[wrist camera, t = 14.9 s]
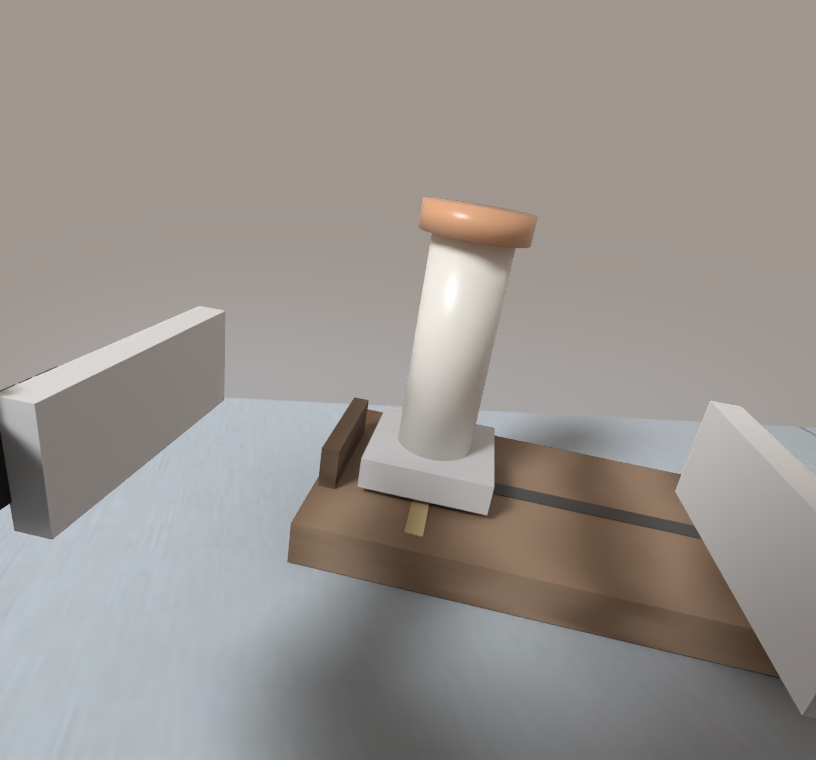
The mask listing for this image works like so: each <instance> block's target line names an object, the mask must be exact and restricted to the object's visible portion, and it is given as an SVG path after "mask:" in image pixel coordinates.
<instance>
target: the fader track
mask: <svg viewBox="0 0 816 760" xmlns="http://www.w3.org/2000/svg"><path fill="white" fill-rule="evenodd" d="M367 408H368V400H364V399H359V398H354V399H353V401H352V402H351V404H350V405H349V407H348V408H347V410H346V412H345V413H344V415H343V416H342V418H341V419H340V421H339V422H338V424H337V426H336V427H335V429H334V430H333V432H332V433H331V435H330V436H329V438H328V440H327V441H326V443H325V444H324V446H323V447H322V453H321V463H320V472H319V477H318V479H317V480H316V482H315V484H314V485H313V487H312V489H311V490H310V492H309V494H308V495H307V497H306V499H305V500H304V502H303V504H302V506H301V507H300V509H299V511H298V512H297V514H296V516H295V517H294V519H293V521H292V522H291V529H290V541H289V552H288V562H291V563H295V564H299V565H304V566H308V567H312V568H316V569H321V570H325V571H329V572H333V573H338V574H342V575H346V576H350V577H355V578H359V579H363V580H367V581H372V582H376V583H380V584H384V585H389V586H393V587H397V588H401V589H406V590H410V591H414V592H418V593H423V594H427V595H431V596H435V597H439V598H444V599H448V600H452V601H456V602H461V603H465V604H469V605H473V606H478V607H482V608H486V609H490V610H495V611H499V612H503V613H507V614H512V615H516V616H520V617H524V618H529V619H533V620H537V621H541V622H546V623H550V624H554V625H558V626H563V627H567V628H571V629H575V630H580V631H584V632H588V633H592V634H596V635H601V636H605V637H609V638H613V639H618V640H622V641H626V642H630V643H635V644H639V645H643V646H647V647H652V648H656V649H660V650H664V651H669V652H673V653H677V654H681V655H686V656H690V657H694V658H698V659H703V660H707V661H711V662H715V663H720V664H724V665H728V666H732V667H737V668H741V669H745V670H749V671H754V672H758V673H762V674H766V675H770V676H775V677H779V678H780V676H779V674H778V673H777V671H776V669H775V667H774V665H773V664H772V662H771V660H770V658H769V657H768V655H767V653H766V651H765V650H764V648H763V646H762V644H761V643H760V641H759V639H758V637H757V635H756V634H755V632H754V630H753V628H752V627H751V625H750V623H749V621H748V620H747V618H746V616H745V614H744V612H743V611H742V609H741V607H740V605H739V604H738V602H737V600H736V598H735V597H734V595H733V593H732V591H731V589H730V588H729V586H728V584H727V582H726V581H725V579H724V577H723V575H722V574H721V572H720V570H719V568H718V567H717V565H716V563H715V561H714V559H713V558H712V556H711V554H710V552H709V551H708V549H707V547H706V545H705V544H704V542H703V540H702V538H701V536H700V535H699V533H698V531H697V529H696V528H695V526H694V524H693V522H692V521H691V519H690V517H689V515H688V513H687V512H686V510H685V508H684V506H683V505H682V503H681V501H680V499H679V498H678V496H677V494H676V492H675V490H676V487H677V485H678V482H679V480H680V477H681V474H676V473H671V472H667V471H662V470H657V469H652V468H647V467H642V466H638V465H633V464H628V463H623V462H618V461H614V460H609V459H604V458H599V457H594V456H589V455H585V454H580V453H575V452H570V451H565V450H561V449H556V448H551V447H546V446H541V445H536V444H532V443H527V442H522V441H517V440H512V439H508V438H503V437H498V436H494V490H493V494H492V498H491V502H490V506H489V510H488V514H487V515H483V514H479V513H474V512H470V511H465V510H461V509H456V508H451V507H447V506H442V505H438V504H433V503H429V502H424V501H420V500H415V499H411V498H406V497H402V496H397V495H393V494H388V493H384V492H379V491H374V490H370V489H365V488H361V487H357V486H358V479H359V472H360V464H361V458H362V456H363V454H364V452H365V450H366V448H367V446H368V443H369V441H370V439H371V437H372V435H373V433H374V431H375V429H376V427H377V425H378V423H379V420H380V418H381V416H382V414H383V413H382V412H378V411H373V410H368V409H367Z"/></svg>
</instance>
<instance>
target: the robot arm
mask: <svg viewBox="0 0 816 760" xmlns="http://www.w3.org/2000/svg"><path fill="white" fill-rule="evenodd" d="M224 366H225V311H223V310H218V309H213V308H207V307H202V306H198V307H196V308H194V309H191V310H189V311H187V312H184V313H182V314H180V315H177V316H175V317H173V318H171V319H168V320H166V321H163V322H161V323H159V324H157V325H154V326H152V327H150V328H147V329H145V330H143V331H140V332H138V333H136V334H133V335H131V336H129V337H126V338H124V339H122V340H119V341H117V342H115V343H112V344H110V345H108V346H105V347H103V348H101V349H98V350H96V351H94V352H91V353H89V354H87V355H84V356H82V357H80V358H77V359H75V360H73V361H71V362H68V363H66V364H63V365H61V366H58V367H54V368H52V369H50V370H47V371H45V372H43V373H41V374H38V375H36V376H35V377H33V378H32V377H31V378H29V379H26V380H24V381H22V382H19V384H17V385H12V386H10V387H8V388H6V389H3V390H1V391H0V510H1V509H2V508H4V507H5V506H7V505H8V504H10V507H11V513H12V519H13V525H14V531H18V532H22V533H27V534H31V535H35V536H39V537H44V538H48V539H54V538H55V537H56V536H57V535H59V534H60V533H61V532H62V531H64V530H65V529H66V528H67V527H68V526H70V525H71V524H72V523H73V522H75V521H76V520H77V519H78V518H80V517H81V516H82V515H83V514H84V513H86V512H87V511H88V510H89V509H91V508H92V507H93V506H94V505H96V504H97V503H98V502H99V501H100V500H102V499H103V498H104V497H105V496H107V495H108V494H109V493H110V492H112V491H113V490H114V489H115V488H116V487H118V486H119V485H120V484H121V483H123V482H124V481H125V480H126V479H128V478H129V477H130V476H131V475H132V474H134V473H135V472H136V471H137V470H139V469H140V468H141V467H142V466H144V465H145V464H146V463H147V462H148V461H150V460H151V459H152V458H153V457H155V456H156V455H157V454H158V453H160V452H161V451H162V450H163V449H165V448H166V447H167V446H168V445H169V444H171V443H172V442H173V441H174V440H176V439H177V438H178V437H179V436H181V435H182V434H183V433H184V432H185V431H187V430H188V429H189V428H190V427H192V426H193V425H194V424H195V423H197V422H198V421H199V420H200V419H201V418H203V417H204V416H205V415H206V414H208V413H209V412H210V411H211V410H213V409H214V408H215V407H216V406H217V405H219V404H220V403H221V402H222V401H224V368H225V367H224ZM675 492H676V494H677V496H678V498H679V499H680V501H681V503H682V505H683V506H684V508H685V510H686V512H687V513H688V515H689V517H690V519H691V521H692V522H693V524H694V526H695V528H696V529H697V531H698V533H699V535H700V536H701V538H702V540H703V542H704V544H705V545H706V547H707V549H708V551H709V552H710V554H711V556H712V558H713V559H714V561H715V563H716V565H717V567H718V568H719V570H720V572H721V574H722V575H723V577H724V579H725V581H726V582H727V584H728V586H729V588H730V589H731V591H732V593H733V595H734V597H735V598H736V600H737V602H738V604H739V605H740V607H741V609H742V611H743V612H744V614H745V616H746V618H747V620H748V621H749V623H750V625H751V627H752V628H753V630H754V632H755V634H756V635H757V637H758V639H759V641H760V643H761V644H762V646H763V648H764V650H765V651H766V653H767V655H768V657H769V658H770V660H771V662H772V664H773V665H774V667H775V669H776V671H777V673H778V674H779V676H780V678H781V680H782V681H783V683H784V685H785V687H786V688H787V690H788V692H789V694H790V696H791V697H792V699H793V701H794V703H795V704H796V706H797V708H798V710H799V711H800V713H801V715H802V716H804V717H808V718H813V719H816V476H815V475H813V474H812V473H811V472H810V471H809V470H808V469H807V468H806V467H805V466H804V465H803V464H802V463H801V462H800V461H799V460H797V459H796V458H795V457H794V456H793V455H792V454H791V453H790V452H789V451H788V450H787V449H786V448H785V447H784V446H783V445H782V444H780V443H779V442H778V441H777V440H776V439H775V438H774V437H773V436H772V435H771V434H770V433H769V432H768V431H767V430H766V429H764V428H763V427H762V426H761V425H760V424H759V423H758V422H757V421H756V420H755V419H754V418H753V417H752V416H751V415H750V414H749V413H747V412H746V411H745V410H744V409H743V408H742V407H740V406H735V405H730V404H725V403H719V402H714V401H710V402H709V405H708V407H707V410H706V413H705V415H704V418H703V420H702V423H701V425H700V428H699V431H698V433H697V436H696V438H695V441H694V443H693V446H692V449H691V451H690V454H689V456H688V459H687V461H686V464H685V467H684V469H683V472H682V474H681V477H680V480H679V482H678V485H677V487H676V490H675Z"/></svg>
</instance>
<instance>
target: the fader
mask: <svg viewBox="0 0 816 760" xmlns="http://www.w3.org/2000/svg"><path fill="white" fill-rule="evenodd" d="M536 222H537V216H535V215H531V214H527V213H523V212H518V211H514V210H509V209H504V208H499V207H493V206H487V205H482V204H476V203H469V202H464V201H457V200H450V199H442V198H433V197H423V203H422V209H421V216H420V222H419V228H420V229H422V230H424V231H427V232H430V233H432V237H431V242H430V248H429V254H428V261H427V266H426V272H425V278H424V285H423V290H422V296H421V302H420V308H419V314H418V320H417V326H416V333H415V339H414V345H413V351H412V357H411V363H410V369H409V375H408V381H407V387H406V393H405V399H404V405H403V409H400V408H395V407H390V406H386V408H385V410H384V412H383V414H382V416H381V418H380V420H379V423H378V425H377V427H376V429H375V431H374V433H373V435H372V437H371V439H370V441H369V443H368V446H367V448H366V450H365V452H364V454H363V456H362V458H361V464H360V472H359V479H358V486H357V487H361V488H365V489H370V490H374V491H379V492H384V493H388V494H393V495H397V496H402V497H406V498H411V499H415V500H420V501H424V502H429V503H433V504H438V505H442V506H447V507H451V508H456V509H461V510H465V511H470V512H474V513H479V514H483V515H487V514H488V510H489V506H490V502H491V498H492V494H493V490H494V428H492V427H487V426H482V425H477V424H476V421H477V417H478V412H479V408H480V403H481V399H482V394H483V390H484V386H485V381H486V377H487V372H488V368H489V363H490V359H491V354H492V350H493V345H494V341H495V337H496V332H497V328H498V323H499V319H500V315H501V310H502V306H503V301H504V297H505V292H506V288H507V283H508V279H509V275H510V270H511V266H512V261H513V257H514V253H515V248H529V247H531V243H532V239H533V235H534V230H535V226H536Z"/></svg>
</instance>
